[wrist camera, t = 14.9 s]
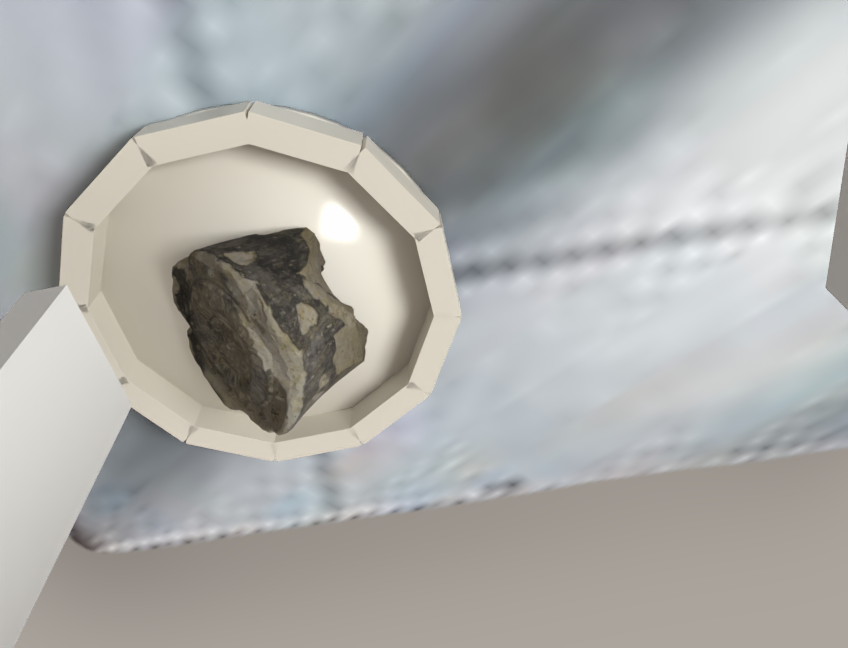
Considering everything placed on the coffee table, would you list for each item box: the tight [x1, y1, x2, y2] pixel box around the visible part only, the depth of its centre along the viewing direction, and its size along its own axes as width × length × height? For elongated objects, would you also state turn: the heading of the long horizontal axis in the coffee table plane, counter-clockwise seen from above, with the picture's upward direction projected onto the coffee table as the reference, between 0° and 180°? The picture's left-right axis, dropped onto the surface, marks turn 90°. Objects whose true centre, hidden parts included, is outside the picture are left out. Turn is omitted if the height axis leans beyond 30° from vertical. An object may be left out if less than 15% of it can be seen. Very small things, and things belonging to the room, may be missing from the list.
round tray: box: [59, 101, 461, 462], centre depth 39 cm, size 21×21×3 cm
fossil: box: [172, 227, 368, 435], centre depth 37 cm, size 11×9×10 cm
